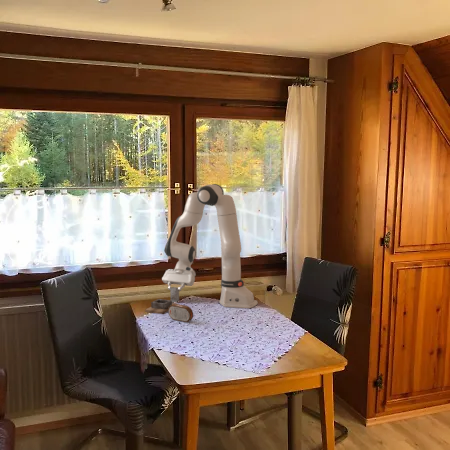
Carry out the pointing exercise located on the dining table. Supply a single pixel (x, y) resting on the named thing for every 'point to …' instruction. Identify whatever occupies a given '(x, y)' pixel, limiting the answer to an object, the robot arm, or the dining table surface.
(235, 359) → the dining table surface
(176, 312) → the tin
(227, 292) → the robot arm
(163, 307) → the socket board
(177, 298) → the key block
